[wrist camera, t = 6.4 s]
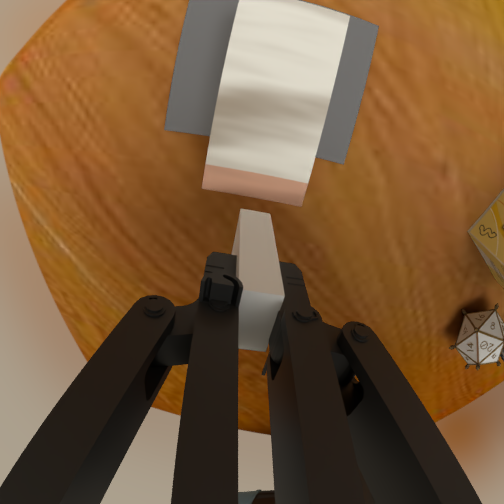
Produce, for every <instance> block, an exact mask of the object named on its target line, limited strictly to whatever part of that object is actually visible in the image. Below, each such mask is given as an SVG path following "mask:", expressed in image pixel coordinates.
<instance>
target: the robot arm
mask: <svg viewBox="0 0 504 504" xmlns="http://www.w3.org/2000/svg"><path fill="white" fill-rule="evenodd" d="M268 343H269V349H270V352H269V355H268V357H267V360H266V363H265V365H264V368H263V371H262V375H265V373H266V370H267V379H268V394H269V410H270V425H271V441H272V457H273V473H274V490H270V491H261V490H256V491H249V492H238V349H247V350H255V351H264V352H266V349H267V346H268ZM182 364H188V369H187V376H186V383H185V390H184V397H183V404H182V411H181V419H180V427H179V435H178V443H177V451H176V460H175V469H174V478H173V479H174V480H173V488H172V498H171V504H482V503H481V501H480V499H479V497H478V496H477V494H476V492H475V490H474V488H473V486H472V485H471V483H470V481H469V479H468V478H467V476H466V474H465V473H464V471H463V469H462V467H461V466H460V464H459V462H458V461H457V459H456V457H455V455H454V454H453V452H452V450H451V449H450V447H449V445H448V444H447V442H446V441H445V439H444V437H443V436H442V434H441V433H440V431H439V429H438V428H437V426H436V424H435V423H434V421H433V420H432V418H431V416H430V415H429V413H428V412H427V410H426V409H425V407H424V405H423V404H422V402H421V401H420V399H419V398H418V396H417V395H416V393H415V392H414V390H413V389H412V387H411V385H410V384H409V382H408V381H407V379H406V378H405V376H404V375H403V373H402V372H401V371H400V369H399V368H398V366H397V365H396V363H395V362H394V360H393V359H392V357H391V356H390V354H389V353H388V351H387V350H386V349H385V347H384V346H383V344H382V343H381V341H380V340H379V338H378V337H377V336H376V334H375V333H374V332H373V331H372V329H371V328H370V327H368V326H366V325H365V324H362V323H359V322H352V321H351V322H348V323H346V324H345V325H344V326H343V328H342V329H340V328H337V327H334V326H331V325H328V324H326V323H324V322H322V318H321V316H320V314H319V312H317V311H316V310H315V309H314V308H313V307H311V306H310V302H309V298H308V294H307V291H306V287H305V283H304V280H303V276H302V272H301V270H300V269H299V268H298V267H297V266H296V265H295V264H292V263H285V262H279V259H278V254H277V248H276V243H275V237H274V232H273V226H272V221H271V215H270V214H269V213H263V212H258V211H252V210H247V209H240V214H239V219H238V224H237V229H236V234H235V239H234V244H233V249H232V254H225V253H219V252H212V253H211V254H210V255H209V256H208V257H207V261H206V267H205V272H204V277H203V278H202V280H201V286H200V294H199V298H198V299H197V301H195V302H194V303H192V304H189V305H185V306H176V307H174V304H173V303H172V302H171V301H170V300H168V299H166V298H164V297H161V296H157V295H152V296H146V297H143V298H140V299H139V300H138V301H137V302H136V303H135V304H134V305H133V306H132V307H131V309H130V310H129V311H128V312H127V313H126V315H125V316H124V317H123V318H122V320H121V321H120V322H119V323H118V325H117V326H116V327H115V328H114V329H113V331H112V332H111V333H110V334H109V336H108V337H107V338H106V339H105V341H104V342H103V343H102V345H101V346H100V347H99V348H98V350H97V351H96V352H95V353H94V355H93V356H92V357H91V359H90V360H89V361H88V362H87V364H86V365H85V366H84V368H83V369H82V370H81V372H80V373H79V374H78V376H77V377H76V378H75V380H74V381H73V382H72V384H71V385H70V386H69V388H68V389H67V391H66V392H65V393H64V395H63V396H62V397H61V398H60V400H59V401H58V403H57V404H56V405H55V407H54V408H53V409H52V411H51V412H50V414H49V415H48V416H47V418H46V419H45V421H44V422H43V423H42V425H41V426H40V428H39V429H38V431H37V432H36V434H35V435H34V436H33V438H32V439H31V441H30V442H29V444H28V445H27V447H26V449H25V450H24V451H23V453H22V454H21V456H20V457H19V459H18V461H17V462H16V463H15V465H14V466H13V468H12V470H11V471H10V473H9V474H8V476H7V477H6V479H5V481H4V482H3V484H2V486H1V487H0V504H100V503H101V501H102V499H103V497H104V494H105V493H106V491H107V489H108V487H109V485H110V483H111V481H112V479H113V477H114V475H115V474H116V472H117V470H118V468H119V466H120V464H121V462H122V460H123V458H124V456H125V454H126V453H127V451H128V449H129V447H130V445H131V443H132V441H133V439H134V437H135V435H136V434H137V432H138V430H139V428H140V426H141V424H142V422H143V420H144V418H145V416H146V415H147V413H148V411H149V409H150V407H151V405H152V403H153V402H154V400H155V398H156V396H157V394H158V392H159V390H160V389H161V387H162V385H163V383H164V381H165V379H166V377H167V376H168V374H169V372H170V370H171V368H172V366H173V365H182ZM355 375H356V376H357V378H358V380H359V382H358V381H357V380H356V379H355Z"/></svg>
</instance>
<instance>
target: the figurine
mask: <svg viewBox="0 0 504 504" xmlns="http://www.w3.org/2000/svg"><path fill="white" fill-rule="evenodd" d="M500 356H501V357H502V358H501V359H502V360H503V361H504V348H503V349H502V352H501V355H500Z"/></svg>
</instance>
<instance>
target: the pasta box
mask: <svg viewBox="0 0 504 504" xmlns="http://www.w3.org/2000/svg"><path fill="white" fill-rule="evenodd" d="M467 232H468V233H469V235H470V237H471V238H472V240H473V242H474V243H475V245H476V246H477V248H478V250H479V252H480V253H481V255H482V257H483V258H484V260H485V262H486V264H487V265H488V267H489V269H490V271H491V273H492V275H493V276H494V278H495V280H496V281H497V282H498V283H499V284H500V285H501V286H502V287H503V289H504V188H503V190H502V191H501V192H500V193H499V195H498V196H497V197H496V198H495V200H494V201H493V202H492V203H491V205H490V206H489V207H488V208H487V209H486V210H485V212H484V213H483V214H482V215H481V216H480V217H479V219H478V220H477V221H476V222H475V223H474V224H473V225H472V227H471V228H470V229H469V230H468V231H467Z"/></svg>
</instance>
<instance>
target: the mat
mask: <svg viewBox="0 0 504 504" xmlns="http://www.w3.org/2000/svg"><path fill="white" fill-rule="evenodd" d="M298 1H302V0H298ZM302 2H306V1H302ZM238 3H239V0H189V4H188V8H187V12H186V16H185V20H184V25H183V29H182V34H181V38H180V43H179V47H178V52H177V57H176V62H175V67H174V73H173V78H172V84H171V90H170V96H169V102H168V108H167V115H166V122H165V129H164V130H168V131H176V132H184V133H191V134H198V135H205V136H210V135H211V129H212V123H213V118H214V113H215V107H216V102H217V97H218V92H219V87H220V82H221V77H222V72H223V68H224V63H225V58H226V54H227V49H228V45H229V40H230V36H231V32H232V27H233V23H234V19H235V15H236V11H237V7H238ZM306 3H309V2H306ZM310 4H313V3H310ZM314 5H317V4H314ZM317 6H320V5H317ZM321 7H324V6H321ZM324 8H327V7H324ZM327 9H330V8H327ZM330 10H333V9H330ZM334 11H336V10H334ZM337 12H339V11H337ZM340 13H342V12H340ZM343 14H345V13H343ZM346 15H348V14H346ZM349 16H350V19H349V23H348V28H347V32H346V36H345V41H344V45H343V49H342V54H341V58H340V62H339V66H338V71H337V75H336V79H335V83H334V87H333V91H332V95H331V99H330V103H329V107H328V111H327V115H326V119H325V122H324V126H323V130H322V134H321V138H320V142H319V145H318V149H317V153H316V156H315V157H317V158H321V159H325V160H329V161H332V162H336V163H340V164H344V161H345V158H346V154H347V151H348V147H349V144H350V140H351V137H352V133H353V130H354V126H355V122H356V119H357V115H358V111H359V107H360V103H361V100H362V96H363V92H364V88H365V84H366V80H367V76H368V72H369V67H370V63H371V59H372V55H373V50H374V46H375V41H376V37H377V32H378V27H379V26H377V25H375V24H372V23H370V22H367V21H365V20H362V19H359V18H357V17H354V16H351V15H349Z"/></svg>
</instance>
